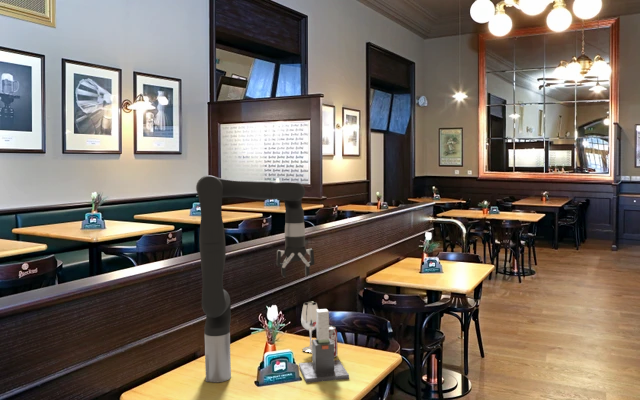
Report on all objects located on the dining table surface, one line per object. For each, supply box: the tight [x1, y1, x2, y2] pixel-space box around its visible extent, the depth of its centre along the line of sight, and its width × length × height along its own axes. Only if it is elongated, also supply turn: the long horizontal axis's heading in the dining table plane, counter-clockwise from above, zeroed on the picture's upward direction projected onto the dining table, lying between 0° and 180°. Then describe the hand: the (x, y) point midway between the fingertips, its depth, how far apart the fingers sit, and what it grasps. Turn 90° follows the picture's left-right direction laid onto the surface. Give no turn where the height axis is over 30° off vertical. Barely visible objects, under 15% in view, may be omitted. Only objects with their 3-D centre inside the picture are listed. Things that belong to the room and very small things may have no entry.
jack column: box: [315, 308, 330, 344], centre depth 216 cm, size 4×4×16 cm
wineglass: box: [300, 301, 319, 354], centre depth 241 cm, size 8×8×20 cm
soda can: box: [329, 325, 338, 358], centre depth 234 cm, size 7×7×12 cm
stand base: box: [298, 338, 350, 384], centre depth 216 cm, size 16×16×12 cm
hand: (295, 276), depth 218 cm, fingers open, 8 cm apart
